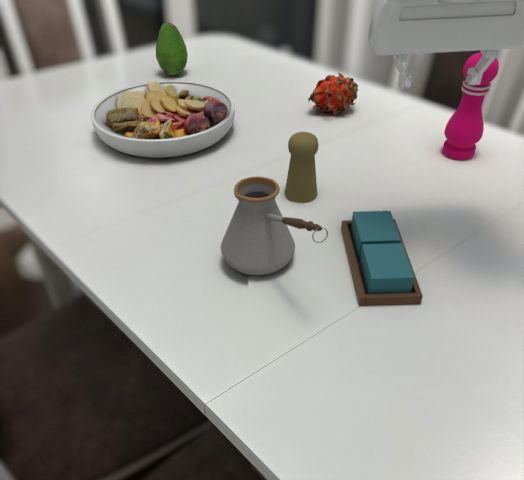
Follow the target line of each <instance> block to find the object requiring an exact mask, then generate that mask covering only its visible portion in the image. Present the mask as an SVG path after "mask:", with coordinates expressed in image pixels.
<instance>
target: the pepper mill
mask: <svg viewBox="0 0 524 480" xmlns="http://www.w3.org/2000/svg"><path fill="white" fill-rule="evenodd" d="M482 56H483V55H482V54H481V53H480V52H476V53H474V54H472V55H471V56H470V57H468V59H466V61H465V63H464V65H463V69H462V74H463V75H462V76H463V77H464V80H463V81H462V85H461V87H460V89H461V91H462V94H461V99H460V102H459V104H458V107H457V108H456V110H455V111H454V112H453V114H452V115H451V116H450V118H449V119H448V121H447V123H446V125H445V128H444V131H443V132H444V137H445V139H446V140H444V142H443V145H442V149H441V152H442V154H443V155H444V156H445V157H447V158H449V159H452V160H454V161H455V160H456V161H467V160H470V159H472V158H473V157H474V156H475V153H476V149H477V145H476V144H477V143H478V142H480V140H482V138H483V135H484V129H485V127H484V126H485V125H484V118H483V104H484V100H485V98H486V95H487V94H488V95H489V93H490V89H491V88H492V84H491V82H492V81H494V79H496V77H497V76H498V73H499V69H500V63H499V60H498V58H497V57H496V58H495V59H494V61H493V62H492V63H491V64H490V65H489V67H488V68H487V69H486V70H485V72H483V75H482V79H481V83H480V85H468V84H467V83H466V76H467V75H468V73H467V72H468V68H474V67H475V66H476V64H477V63H478V61H479V60H480V59H481V57H482Z"/></svg>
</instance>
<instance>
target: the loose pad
mask: <svg viewBox="0 0 524 480" xmlns="http://www.w3.org/2000/svg"><path fill="white" fill-rule="evenodd" d="M351 216H352V217H351V220H352V224H351V231H350V233H351V237H352V241H353V245H354V249H355V253H356V257H357V261H358V262H360V255H361V249H362V244H393V243H400V242H401V239H400V236H399V234H398V231H397V228H396V225H395V222H394V220H393V219H394V217H393V214H392V212H391V210H368V211H367V210H366V211H365V210H364V211H353V212H352V215H351Z"/></svg>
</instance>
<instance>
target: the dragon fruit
mask: <svg viewBox="0 0 524 480" xmlns="http://www.w3.org/2000/svg"><path fill="white" fill-rule="evenodd" d="M337 75H338V76H336V75H334V74H333V75H331V74H328V75H326V76H325V78H322V79H320V80H318V81H317V83H316V86H315V88H314V89H313V91H312V92H311V94H310V95H309V97H308V99H307V100H308V103H310V101H311V102H312V103H314V105H313V106H312V108H313V110H315V111H316V112H323V113H327V112H330V111H332V115H333V116H337V114H338V113H342V112H344V111H345V110H346V109H349V108H351V107H350V106H355V105H356V102H355V100H357V99H358V91H359V84H357V82H356V81H354V78H353V77H349V76H348V77H347V76H344V75H343V74H342V73H341V72H338V73H337Z"/></svg>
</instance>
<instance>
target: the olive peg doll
mask: <svg viewBox="0 0 524 480" xmlns="http://www.w3.org/2000/svg"><path fill="white" fill-rule="evenodd" d="M287 148H288V153H289V154H290V158H289V164H288V170H287V176H286V182H285V187H284V197H285V198H286V199H287V200H289V201H290V202H293V203H297V204H304V203H310V202H313V201H314V200H316V199H317V197H318V184H317V183H318V182H317V171H316V169H317V167H316V154H317V153H318V151H319V140H318V137H317V136H316V134H313V133H311V132H309V131H299V132H298V131H297V132H295V133H293V134H292V135H291V136H290V137H289V139H288V142H287Z"/></svg>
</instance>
